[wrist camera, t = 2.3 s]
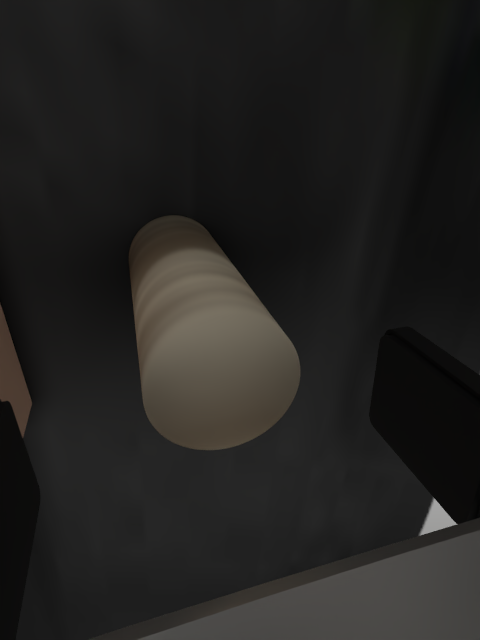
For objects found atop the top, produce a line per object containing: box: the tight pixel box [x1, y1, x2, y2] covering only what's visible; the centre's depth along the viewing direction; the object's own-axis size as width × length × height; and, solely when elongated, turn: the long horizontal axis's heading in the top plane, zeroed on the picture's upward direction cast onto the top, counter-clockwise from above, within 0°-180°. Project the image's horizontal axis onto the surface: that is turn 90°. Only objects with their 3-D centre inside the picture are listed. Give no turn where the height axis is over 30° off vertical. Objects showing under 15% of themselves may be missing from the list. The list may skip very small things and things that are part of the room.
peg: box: [128, 215, 300, 450], centre depth 15 cm, size 4×4×10 cm
